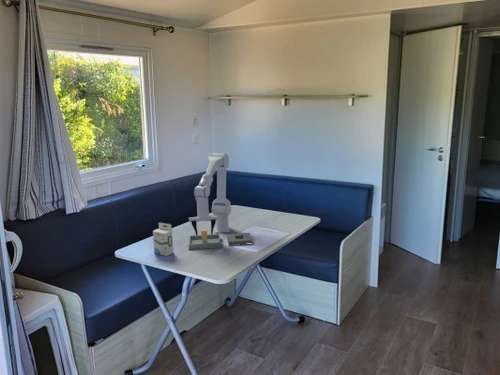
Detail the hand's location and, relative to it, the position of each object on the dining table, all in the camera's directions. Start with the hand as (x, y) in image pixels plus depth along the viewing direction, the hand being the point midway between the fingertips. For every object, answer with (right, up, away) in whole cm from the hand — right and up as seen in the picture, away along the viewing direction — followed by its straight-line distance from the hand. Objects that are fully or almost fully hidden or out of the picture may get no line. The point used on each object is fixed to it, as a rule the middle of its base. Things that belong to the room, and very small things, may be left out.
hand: (204, 234), depth 226 cm
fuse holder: (+18, -4, +4) cm, 19 cm away
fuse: (0, -4, +1) cm, 4 cm away
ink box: (-19, -8, -11) cm, 23 cm away
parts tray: (0, -5, +1) cm, 5 cm away
